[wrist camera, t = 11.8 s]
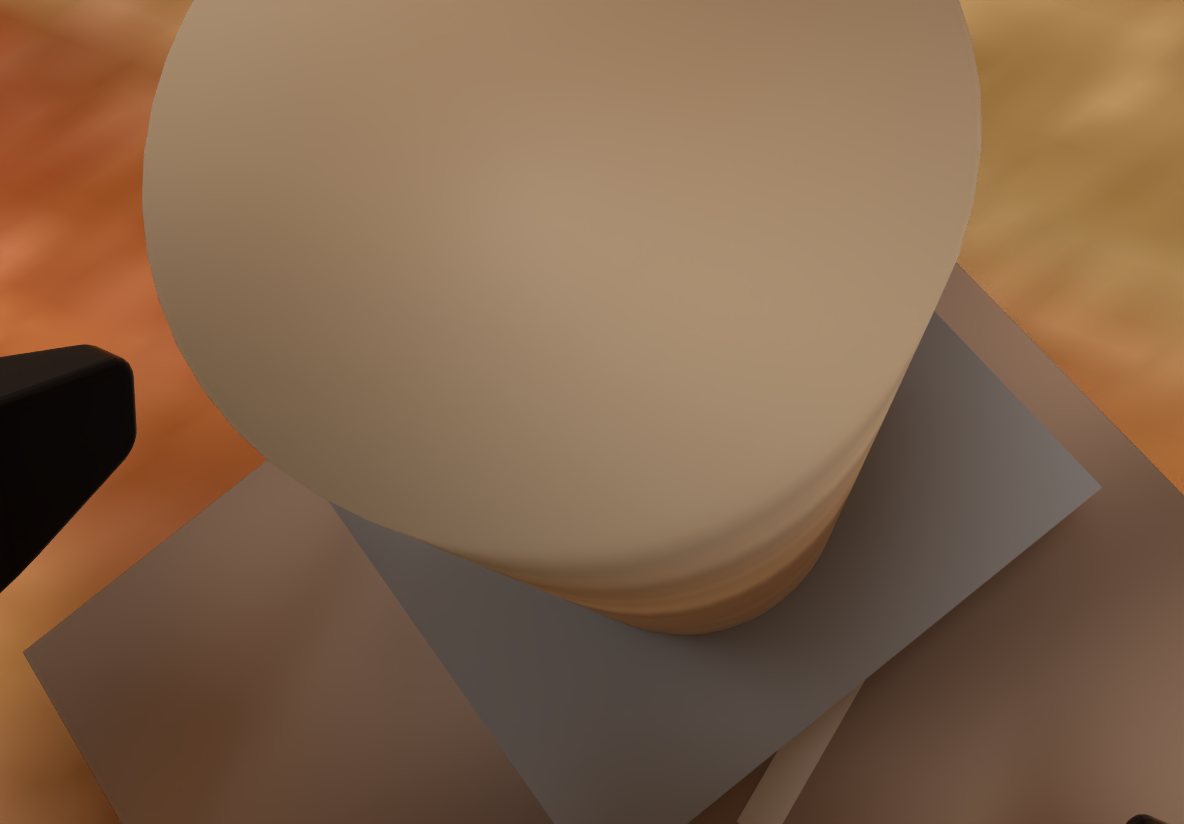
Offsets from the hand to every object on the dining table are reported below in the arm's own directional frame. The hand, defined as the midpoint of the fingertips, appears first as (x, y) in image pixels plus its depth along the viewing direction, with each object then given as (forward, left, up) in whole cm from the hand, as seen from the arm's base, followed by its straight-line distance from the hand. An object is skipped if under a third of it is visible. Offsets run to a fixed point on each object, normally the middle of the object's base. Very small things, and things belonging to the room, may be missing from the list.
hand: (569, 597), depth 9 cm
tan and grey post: (+1, -2, -6) cm, 6 cm away
